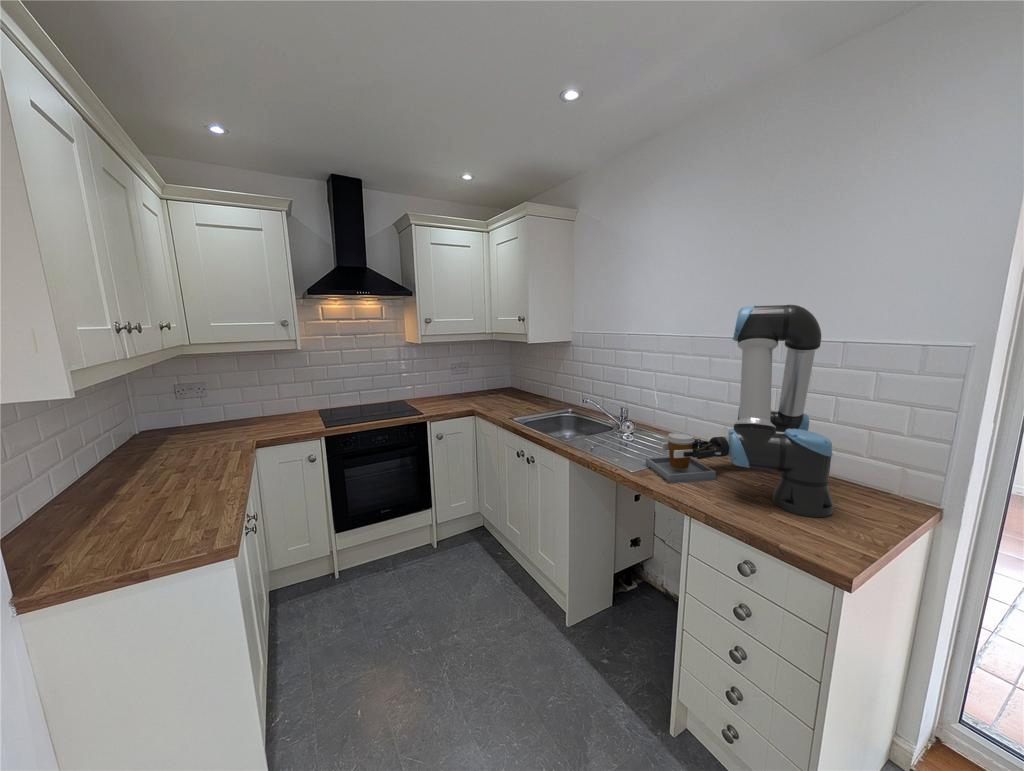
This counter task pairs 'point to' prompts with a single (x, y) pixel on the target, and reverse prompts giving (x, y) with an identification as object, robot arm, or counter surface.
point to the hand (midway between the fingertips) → (668, 450)
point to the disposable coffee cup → (679, 448)
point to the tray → (680, 470)
